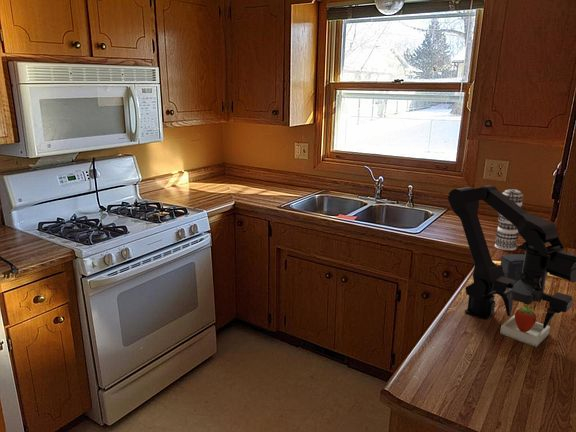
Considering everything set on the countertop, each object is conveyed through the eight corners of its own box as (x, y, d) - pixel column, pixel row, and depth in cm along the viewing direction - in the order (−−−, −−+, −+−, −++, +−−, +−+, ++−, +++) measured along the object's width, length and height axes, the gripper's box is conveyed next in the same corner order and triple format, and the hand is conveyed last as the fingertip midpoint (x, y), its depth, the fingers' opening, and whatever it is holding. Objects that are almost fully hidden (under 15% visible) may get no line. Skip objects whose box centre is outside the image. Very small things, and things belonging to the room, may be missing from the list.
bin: (500, 333, 125) (501, 325, 124) (513, 322, 131) (514, 314, 131) (536, 347, 118) (537, 338, 118) (548, 334, 125) (550, 326, 124)
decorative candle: (522, 249, 191) (531, 192, 185) (504, 251, 189) (512, 193, 182) (506, 242, 200) (514, 187, 193) (489, 244, 197) (496, 188, 191)
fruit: (508, 328, 126) (512, 302, 124) (522, 325, 128) (526, 299, 126) (524, 337, 122) (528, 310, 120) (538, 334, 123) (543, 307, 121)
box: (518, 282, 159) (522, 253, 156) (528, 288, 154) (533, 259, 151) (497, 282, 158) (501, 254, 155) (506, 289, 153) (510, 260, 150)
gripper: (486, 266, 121) (479, 319, 125) (564, 288, 108) (553, 346, 112) (503, 256, 128) (496, 306, 132) (578, 275, 115) (567, 330, 119)
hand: (526, 321), depth 124 cm, fingers open, 9 cm apart
